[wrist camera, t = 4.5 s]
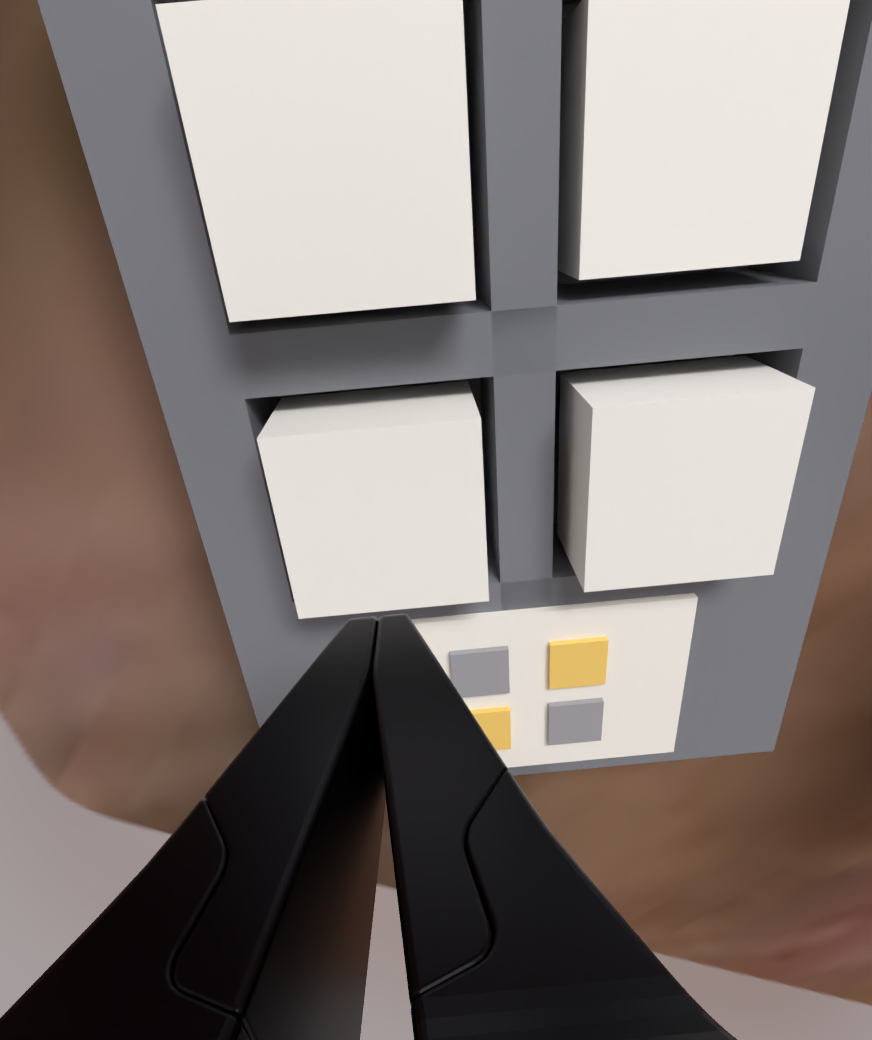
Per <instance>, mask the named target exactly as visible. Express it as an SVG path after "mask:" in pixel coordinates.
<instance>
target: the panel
mask: <svg viewBox="0 0 872 1040" xmlns="http://www.w3.org/2000/svg"><path fill="white" fill-rule="evenodd" d="M37 1H38V4H39V7H40V11H41V14H42V17H43V20H44V24H45V27H46V30H47V34H48V37H49V40H50V43H51V47H52V50H53V53H54V56H55V60H56V63H57V66H58V70H59V73H60V76H61V79H62V83H63V86H64V89H65V93H66V96H67V99H68V102H69V106H70V109H71V112H72V115H73V119H74V122H75V125H76V129H77V132H78V135H79V138H80V142H81V145H82V148H83V152H84V155H85V158H86V161H87V165H88V168H89V171H90V175H91V178H92V181H93V184H94V188H95V191H96V194H97V197H98V201H99V204H100V207H101V211H102V214H103V217H104V220H105V224H106V227H107V230H108V234H109V237H110V240H111V243H112V247H113V250H114V253H115V256H116V260H117V263H118V266H119V270H120V273H121V276H122V279H123V283H124V286H125V289H126V293H127V296H128V299H129V302H130V306H131V309H132V312H133V315H134V319H135V322H136V325H137V329H138V332H139V335H140V338H141V342H142V345H143V348H144V352H145V355H146V358H147V361H148V365H149V368H150V371H151V374H152V378H153V381H154V384H155V388H156V391H157V394H158V397H159V401H160V404H161V407H162V411H163V414H164V417H165V420H166V424H167V427H168V430H169V434H170V437H171V440H172V443H173V447H174V450H175V453H176V456H177V460H178V463H179V466H180V470H181V473H182V476H183V479H184V483H185V486H186V489H187V493H188V496H189V499H190V502H191V506H192V509H193V512H194V515H195V519H196V522H197V525H198V529H199V532H200V535H201V538H202V542H203V545H204V548H205V552H206V555H207V558H208V561H209V565H210V568H211V571H212V574H213V578H214V581H215V584H216V588H217V591H218V594H219V597H220V601H221V604H222V607H223V611H224V614H225V617H226V620H227V624H228V627H229V630H230V633H231V637H232V640H233V643H234V647H235V650H236V653H237V656H238V660H239V663H240V666H241V670H242V673H243V676H244V679H245V683H246V686H247V689H248V693H249V696H250V699H251V702H252V706H253V709H254V712H255V715H256V719H257V722H258V725H259V728H260V727H261V726H262V725H263V723H264V722H265V721H266V720H267V718H268V717H269V716H270V715H271V714H272V712H273V711H274V710H275V709H276V707H277V706H278V705H279V704H280V703H281V701H282V700H283V699H284V698H285V696H286V695H287V694H288V693H289V691H290V690H291V689H292V688H293V687H294V685H295V684H296V683H297V682H298V680H299V679H300V678H301V677H302V676H303V674H304V673H305V672H306V671H307V669H308V668H309V667H310V666H311V664H312V663H313V662H314V661H315V660H316V658H317V657H318V656H319V655H320V653H321V652H322V651H323V650H324V649H325V647H326V646H327V645H328V644H329V642H330V641H331V640H332V639H333V637H334V636H335V635H336V634H337V633H338V631H339V630H340V629H341V628H342V626H343V625H344V624H345V623H346V622H347V621H348V620H349V619H352V618H362V617H376V618H377V619H378V620H379V618H380V617H381V616H384V615H394V614H407V615H408V616H409V617H410V619H411V620H412V622H413V623H414V625H415V626H416V628H417V629H418V631H419V632H420V634H421V635H422V637H423V639H424V640H425V642H426V643H427V645H428V646H429V648H430V649H431V651H432V652H433V654H434V656H435V657H436V659H437V660H438V662H439V663H440V665H441V666H442V668H443V669H444V671H445V672H446V674H447V676H448V677H449V679H450V680H451V682H452V683H453V685H454V686H455V688H456V689H457V691H458V692H459V694H460V696H461V697H462V699H463V700H464V702H465V703H466V705H467V706H468V708H469V709H470V711H471V713H472V714H473V716H474V717H475V719H476V720H477V722H478V723H479V725H480V726H481V728H482V729H483V731H484V733H485V734H486V736H487V737H488V739H489V740H490V742H491V743H492V745H493V746H494V748H495V749H496V751H497V753H498V754H499V756H500V757H501V759H502V760H503V762H504V763H505V765H506V766H507V769H508V772H510V773H511V774H512V775H513V776H515V775H526V774H536V773H547V772H557V771H568V770H578V769H589V768H599V767H610V766H620V765H631V764H641V763H652V762H662V761H672V760H683V759H693V758H704V757H714V756H725V755H735V754H746V753H756V752H767V751H774V748H775V744H776V740H777V737H778V733H779V729H780V726H781V722H782V718H783V715H784V711H785V707H786V704H787V700H788V696H789V693H790V689H791V685H792V682H793V678H794V674H795V671H796V667H797V663H798V659H799V656H800V652H801V648H802V645H803V641H804V637H805V634H806V630H807V626H808V623H809V619H810V615H811V612H812V608H813V604H814V601H815V597H816V593H817V590H818V586H819V582H820V579H821V575H822V571H823V568H824V564H825V560H826V557H827V553H828V549H829V545H830V542H831V538H832V534H833V531H834V527H835V523H836V520H837V516H838V512H839V509H840V505H841V501H842V498H843V494H844V490H845V487H846V483H847V479H848V476H849V472H850V468H851V465H852V461H853V457H854V454H855V450H856V446H857V443H858V439H859V435H860V432H861V428H862V424H863V420H864V417H865V413H866V409H867V406H868V402H869V398H870V395H871V391H872V0H850V4H849V9H848V14H847V19H846V24H845V29H844V35H843V40H842V45H841V50H840V55H839V60H838V66H837V71H836V76H835V81H834V86H833V91H832V97H831V102H830V107H829V112H828V117H827V122H826V128H825V133H824V138H823V143H822V148H821V153H820V159H819V164H818V169H817V174H816V179H815V184H814V190H813V195H812V200H811V205H810V210H809V215H808V221H807V226H806V231H805V236H804V241H803V246H802V252H801V257H800V260H799V261H788V262H777V263H766V264H755V265H743V266H732V267H721V268H710V269H699V270H688V271H677V272H666V273H654V274H643V275H632V276H621V277H610V278H599V279H588V280H578V279H575V278H573V277H571V276H569V275H567V274H565V273H562V272H560V271H558V270H557V265H558V206H559V146H560V87H561V27H562V22H563V21H564V19H565V18H566V17H567V16H568V15H569V14H570V13H571V12H572V11H573V10H574V8H575V7H576V6H577V5H578V4H579V3H580V2H581V1H582V0H463V20H464V43H465V65H466V88H467V111H468V133H469V156H470V179H471V201H472V224H473V247H474V269H475V292H476V300H472V301H461V302H450V303H438V304H427V305H416V306H405V307H394V308H383V309H372V310H361V311H349V312H338V313H327V314H316V315H305V316H294V317H283V318H272V319H261V320H249V321H238V322H229V318H228V314H227V310H226V305H225V301H224V297H223V292H222V288H221V284H220V280H219V275H218V271H217V267H216V262H215V258H214V254H213V250H212V245H211V241H210V237H209V232H208V228H207V224H206V220H205V215H204V211H203V207H202V202H201V198H200V194H199V190H198V185H197V181H196V177H195V172H194V168H193V164H192V160H191V155H190V151H189V147H188V142H187V138H186V134H185V130H184V125H183V121H182V117H181V112H180V108H179V104H178V100H177V95H176V91H175V87H174V82H173V78H172V74H171V70H170V65H169V61H168V57H167V52H166V48H165V44H164V39H163V35H162V31H161V27H160V22H159V18H158V14H157V9H156V5H155V4H164V3H176V2H187V1H199V0H37ZM735 356H747V357H749V358H752V359H754V360H756V361H758V362H760V363H762V364H765V365H767V366H769V367H771V368H773V369H776V370H778V371H780V372H782V373H784V374H787V375H789V376H791V377H793V378H795V379H797V380H800V381H802V382H804V383H806V384H808V385H811V386H813V387H815V393H814V397H813V401H812V406H811V410H810V415H809V419H808V424H807V428H806V432H805V437H804V441H803V446H802V450H801V455H800V459H799V463H798V468H797V472H796V477H795V481H794V485H793V490H792V494H791V499H790V503H789V508H788V512H787V516H786V521H785V525H784V530H783V534H782V539H781V543H780V547H779V552H778V556H777V561H776V565H775V569H774V574H773V575H764V576H754V577H743V578H732V579H721V580H711V581H700V582H689V583H679V584H668V585H657V586H647V587H636V588H625V589H614V590H604V591H593V592H584V591H583V589H582V587H581V585H580V582H579V580H578V578H577V576H576V574H575V572H574V569H573V567H572V565H571V563H570V561H569V559H568V556H567V554H566V552H565V550H564V548H563V546H562V543H561V541H560V539H559V537H558V535H557V509H558V460H559V411H560V372H570V371H581V370H592V369H603V368H614V367H625V366H636V365H647V364H658V363H669V362H680V361H691V360H702V359H713V358H724V357H735ZM460 381H468V383H469V386H470V389H471V392H472V394H473V397H474V400H475V403H476V406H477V408H478V411H479V414H480V417H481V428H482V451H483V473H484V496H485V519H486V541H487V564H488V587H489V601H486V602H475V603H464V604H454V605H443V606H432V607H422V608H411V609H400V610H390V611H379V612H368V613H357V614H347V615H336V616H325V617H315V618H304V619H299V618H298V614H297V610H296V605H295V601H294V597H293V593H292V588H291V584H290V580H289V575H288V571H287V567H286V563H285V558H284V554H283V550H282V545H281V541H280V537H279V533H278V528H277V524H276V520H275V515H274V511H273V507H272V503H271V498H270V494H269V490H268V485H267V481H266V477H265V473H264V468H263V464H262V460H261V455H260V451H259V447H258V443H257V437H258V436H259V434H260V432H261V431H262V429H263V428H264V426H265V424H266V423H267V421H268V419H269V418H270V416H271V414H272V413H273V411H274V409H275V408H276V406H277V404H278V403H279V401H280V400H281V398H284V397H295V396H306V395H317V394H328V393H339V392H350V391H361V390H372V389H383V388H394V387H405V386H416V385H427V384H438V383H449V382H460Z"/></svg>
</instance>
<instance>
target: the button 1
mask: <svg viewBox="0 0 872 1040" xmlns="http://www.w3.org/2000/svg"><path fill="white" fill-rule="evenodd" d="M155 5H156V9H157V14H158V18H159V22H160V27H161V31H162V35H163V39H164V44H165V48H166V52H167V57H168V61H169V65H170V70H171V74H172V78H173V82H174V87H175V91H176V95H177V100H178V104H179V108H180V112H181V117H182V121H183V125H184V130H185V134H186V138H187V142H188V147H189V151H190V155H191V160H192V164H193V168H194V172H195V177H196V181H197V185H198V190H199V194H200V198H201V202H202V207H203V211H204V215H205V220H206V224H207V228H208V232H209V237H210V241H211V245H212V250H213V254H214V258H215V262H216V267H217V271H218V275H219V280H220V284H221V288H222V292H223V297H224V301H225V305H226V310H227V314H228V318H229V322H238V321H249V320H261V319H272V318H283V317H294V316H305V315H316V314H327V313H338V312H349V311H361V310H372V309H383V308H394V307H405V306H416V305H427V304H438V303H450V302H461V301H472V300H476V292H475V269H474V247H473V224H472V201H471V179H470V156H469V133H468V111H467V88H466V65H465V43H464V20H463V0H199V1H187V2H176V3H164V4H155Z"/></svg>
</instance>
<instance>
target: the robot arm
mask: <svg viewBox="0 0 872 1040" xmlns="http://www.w3.org/2000/svg"><path fill="white" fill-rule="evenodd" d="M385 799H386V803H387V812H388V820H389V829H390V837H391V846H392V854H393V863H394V871H395V880H396V888H397V896H398V905H399V914H400V922H401V931H402V938H403V948H404V955H405V964H406V972H407V981H408V990H409V998H410V1004H411V1015H412V1024H413V1032H414V1040H737V1039H736V1038H735V1037H733V1036H732V1035H731V1034H730V1033H728V1032H727V1031H726V1030H725V1029H724V1028H723V1027H722V1026H720V1025H719V1024H718V1023H717V1022H716V1021H715V1020H714V1019H713V1018H712V1017H711V1016H709V1014H708V1013H707V1012H706V1011H705V1010H704V1009H703V1008H702V1007H701V1006H700V1005H699V1004H698V1003H697V1002H696V1001H695V1000H694V999H693V998H692V997H691V996H690V995H689V994H688V993H687V992H686V991H685V989H684V988H683V987H682V986H681V985H680V984H679V983H678V982H677V980H676V979H675V978H674V977H673V976H672V975H671V974H670V972H669V971H668V970H667V969H666V968H665V967H664V965H663V964H662V963H661V962H660V961H659V960H658V958H657V957H656V956H655V955H654V954H653V953H652V951H651V950H650V949H649V948H648V947H647V946H646V944H645V943H644V942H643V941H642V940H641V939H640V937H639V936H638V935H637V934H636V933H635V931H634V930H633V929H632V928H631V927H630V926H629V924H628V923H627V922H626V921H625V920H624V919H623V917H622V916H621V915H620V914H619V913H618V912H617V910H616V909H615V908H614V907H613V906H612V905H611V903H610V902H609V901H608V900H607V899H606V898H605V896H604V895H603V894H602V893H601V892H600V891H599V889H598V888H597V887H596V886H595V885H594V883H593V882H592V881H591V880H590V879H589V878H588V876H587V875H586V874H585V873H584V872H583V871H582V869H581V868H580V867H579V866H578V864H577V863H576V862H575V861H574V859H573V858H572V857H571V856H570V854H569V853H568V852H567V851H566V849H565V848H564V847H563V846H562V844H561V843H560V842H559V841H558V839H557V838H556V837H555V836H554V835H553V833H552V832H551V831H550V829H549V828H548V826H547V825H546V824H545V822H544V821H543V819H542V818H541V816H540V815H539V814H538V812H537V811H536V809H535V808H534V807H533V805H532V804H531V802H530V801H529V799H528V798H527V797H526V795H525V794H524V792H523V790H522V789H521V787H520V786H519V784H518V783H517V781H516V780H515V778H514V777H513V775H512V774H511V773H510V772H508V769H507V766H506V765H505V763H504V762H503V760H502V759H501V757H500V756H499V754H498V753H497V751H496V749H495V748H494V746H493V745H492V743H491V742H490V740H489V739H488V737H487V736H486V734H485V733H484V731H483V729H482V728H481V726H480V725H479V723H478V722H477V720H476V719H475V717H474V716H473V714H472V713H471V711H470V709H469V708H468V706H467V705H466V703H465V702H464V700H463V699H462V697H461V696H460V694H459V692H458V691H457V689H456V688H455V686H454V685H453V683H452V682H451V680H450V679H449V677H448V676H447V674H446V672H445V671H444V669H443V668H442V666H441V665H440V663H439V662H438V660H437V659H436V657H435V656H434V654H433V652H432V651H431V649H430V648H429V646H428V645H427V643H426V642H425V640H424V639H423V637H422V635H421V634H420V632H419V631H418V629H417V628H416V626H415V625H414V623H413V622H412V620H411V619H410V617H409V616H408V615H407V614H394V615H384V616H381V617H380V618H379V620H378V619H377V618H376V617H362V618H352V619H349V620H348V621H347V622H346V623H345V624H344V625H343V626H342V628H341V629H340V630H339V631H338V633H337V634H336V635H335V636H334V637H333V639H332V640H331V641H330V642H329V644H328V645H327V646H326V647H325V649H324V650H323V651H322V652H321V653H320V655H319V656H318V657H317V658H316V660H315V661H314V662H313V663H312V664H311V666H310V667H309V668H308V669H307V671H306V672H305V673H304V674H303V676H302V677H301V678H300V679H299V680H298V682H297V683H296V684H295V685H294V687H293V688H292V689H291V690H290V691H289V693H288V694H287V695H286V696H285V698H284V699H283V700H282V701H281V703H280V704H279V705H278V706H277V707H276V709H275V710H274V711H273V712H272V714H271V715H270V716H269V717H268V718H267V720H266V721H265V722H264V723H263V725H262V726H261V727H260V728H259V730H258V731H257V732H256V733H255V734H254V736H253V737H252V738H251V739H250V741H249V742H248V743H247V744H246V745H245V747H244V748H243V749H242V750H241V752H240V753H239V754H238V755H237V757H236V758H235V759H234V760H233V761H232V763H231V764H230V765H229V766H228V768H227V769H226V770H225V771H224V773H223V774H222V775H221V776H220V777H219V779H218V780H217V781H216V782H215V784H214V785H213V786H212V787H211V788H210V790H209V791H208V792H207V793H206V795H205V800H206V801H205V800H201V801H200V802H199V803H198V804H197V805H196V806H195V808H194V809H193V810H192V811H191V813H190V814H189V815H188V816H187V818H186V819H185V820H184V821H183V822H182V824H181V825H180V826H179V827H178V828H177V830H176V831H175V832H174V833H173V834H172V835H171V837H170V838H169V839H168V840H167V841H166V842H165V844H164V845H163V846H162V847H161V848H160V850H159V851H158V852H157V853H156V854H155V855H154V857H153V858H152V859H151V860H150V861H149V863H148V864H147V865H146V866H145V867H144V868H143V869H142V870H141V871H140V872H139V874H138V875H137V876H136V877H135V878H134V879H133V880H132V881H131V882H130V883H129V884H128V886H127V887H126V888H125V889H124V890H123V891H122V892H121V893H120V894H119V895H118V896H117V897H116V899H114V901H113V902H112V903H111V904H110V905H109V906H108V907H107V908H106V909H105V910H104V911H103V912H102V913H101V914H100V915H99V917H98V918H97V919H96V920H95V921H94V922H93V923H92V924H91V925H90V926H89V927H88V928H87V929H86V930H85V931H84V932H83V933H82V934H81V935H80V936H79V937H78V938H77V939H76V940H75V942H74V943H72V944H71V946H70V947H69V948H68V949H67V950H66V951H65V952H64V953H63V954H62V955H61V956H60V957H59V958H58V959H57V960H56V961H55V962H54V963H53V964H52V965H51V966H50V967H49V968H48V969H47V970H46V971H45V972H44V973H43V975H42V976H41V977H40V978H39V979H38V980H37V981H36V982H35V983H34V984H33V985H32V986H31V987H30V988H29V989H28V990H27V991H26V992H25V993H24V994H23V995H22V996H21V997H20V998H19V999H18V1000H17V1001H16V1003H15V1004H14V1005H13V1006H12V1007H11V1008H10V1009H9V1010H8V1011H7V1012H6V1013H5V1014H4V1015H3V1016H2V1017H1V1018H0V1040H360V1033H361V1024H362V1014H363V1005H364V996H365V986H366V976H367V967H368V957H369V949H370V939H371V930H372V921H373V911H374V902H375V892H376V883H377V874H378V864H379V855H380V846H381V836H382V827H383V817H384V808H385Z"/></svg>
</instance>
